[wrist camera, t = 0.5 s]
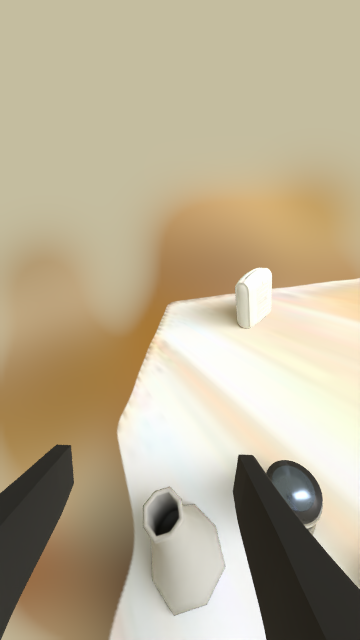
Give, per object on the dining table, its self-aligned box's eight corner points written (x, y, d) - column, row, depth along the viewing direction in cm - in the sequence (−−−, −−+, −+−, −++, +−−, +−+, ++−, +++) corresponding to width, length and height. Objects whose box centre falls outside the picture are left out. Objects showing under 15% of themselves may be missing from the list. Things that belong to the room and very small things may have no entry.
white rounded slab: (258, 307, 58) (257, 262, 52) (273, 311, 55) (274, 264, 49) (234, 325, 53) (231, 278, 47) (250, 331, 50) (248, 281, 43)
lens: (327, 538, 20) (338, 512, 17) (279, 552, 20) (281, 528, 17) (296, 482, 24) (301, 452, 21) (256, 493, 24) (255, 465, 21)
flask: (141, 535, 23) (106, 494, 18) (197, 492, 25) (181, 444, 20) (169, 642, 17) (131, 624, 12) (240, 572, 20) (231, 533, 15)
